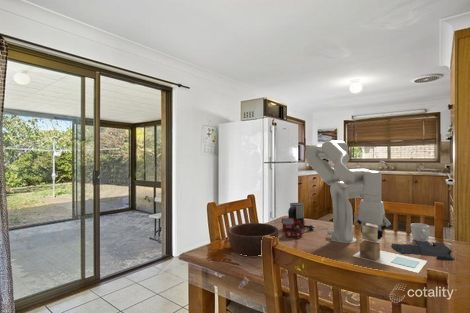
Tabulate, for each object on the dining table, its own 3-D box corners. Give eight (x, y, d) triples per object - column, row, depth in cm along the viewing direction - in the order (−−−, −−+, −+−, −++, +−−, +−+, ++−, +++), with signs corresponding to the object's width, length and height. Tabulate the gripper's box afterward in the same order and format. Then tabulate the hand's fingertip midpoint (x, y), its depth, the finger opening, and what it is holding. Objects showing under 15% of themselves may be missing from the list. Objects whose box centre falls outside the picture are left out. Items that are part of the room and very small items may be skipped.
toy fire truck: (305, 238, 141) (304, 219, 141) (282, 238, 142) (282, 219, 142) (303, 234, 148) (302, 216, 148) (281, 234, 149) (280, 216, 149)
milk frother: (291, 224, 171) (290, 202, 171) (316, 226, 165) (315, 203, 165) (287, 229, 158) (286, 206, 158) (313, 232, 152) (312, 207, 152)
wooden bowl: (289, 249, 125) (288, 228, 125) (255, 265, 108) (254, 240, 108) (252, 238, 143) (251, 220, 143) (217, 250, 126) (217, 229, 126)
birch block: (362, 238, 117) (362, 225, 117) (367, 235, 122) (367, 223, 121) (376, 242, 113) (376, 228, 113) (380, 238, 117) (381, 225, 117)
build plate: (352, 258, 112) (352, 255, 112) (365, 249, 122) (365, 246, 122) (418, 275, 94) (418, 272, 94) (427, 263, 104) (427, 260, 104)
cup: (435, 245, 124) (434, 229, 124) (415, 244, 127) (415, 228, 127) (426, 238, 134) (426, 223, 135) (408, 237, 137) (408, 222, 137)
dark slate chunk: (387, 246, 126) (387, 237, 126) (439, 249, 121) (438, 239, 121) (400, 259, 111) (400, 248, 111) (459, 262, 106) (459, 250, 106)
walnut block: (360, 257, 110) (359, 243, 110) (365, 253, 114) (364, 240, 114) (375, 261, 106) (374, 246, 106) (380, 257, 110) (379, 243, 110)
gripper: (349, 196, 120) (349, 234, 121) (390, 202, 108) (390, 244, 108) (355, 194, 125) (355, 230, 126) (396, 199, 113) (395, 239, 113)
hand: (371, 236), depth 117 cm, fingers closed on birch block, 6 cm apart
